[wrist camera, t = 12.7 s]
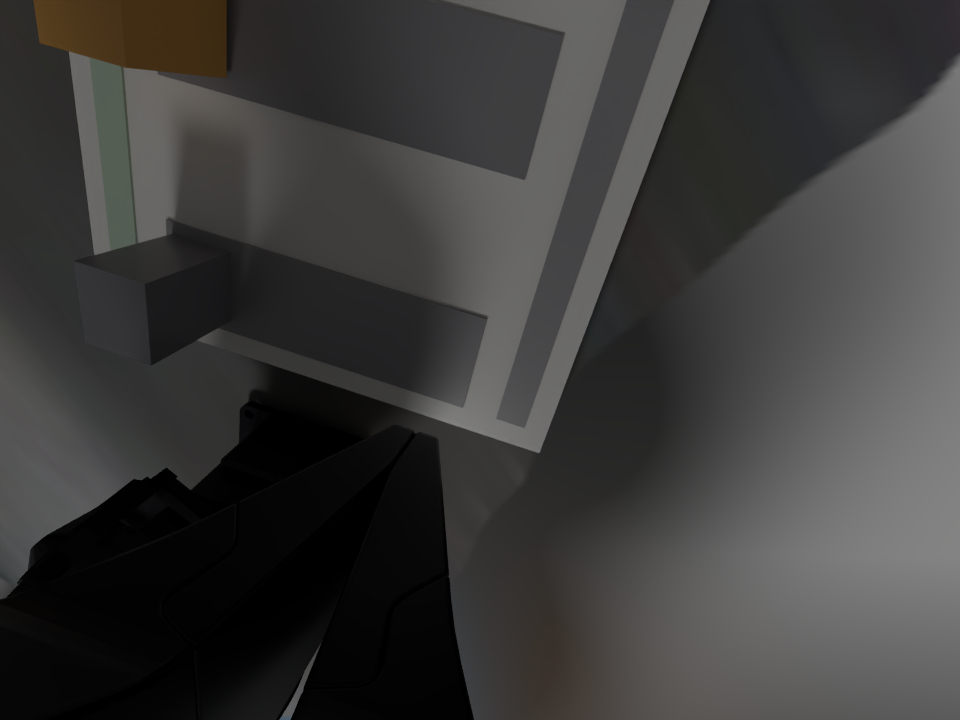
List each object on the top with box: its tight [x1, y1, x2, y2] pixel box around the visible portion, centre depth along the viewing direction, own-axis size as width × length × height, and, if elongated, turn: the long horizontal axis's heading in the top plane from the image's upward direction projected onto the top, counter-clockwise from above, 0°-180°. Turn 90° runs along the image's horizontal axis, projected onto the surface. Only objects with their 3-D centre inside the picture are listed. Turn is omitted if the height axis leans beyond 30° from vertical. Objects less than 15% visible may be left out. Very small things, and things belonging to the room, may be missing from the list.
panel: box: [69, 0, 710, 453], centre depth 15 cm, size 24×20×6 cm
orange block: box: [34, 0, 227, 78], centre depth 14 cm, size 3×2×4 cm
